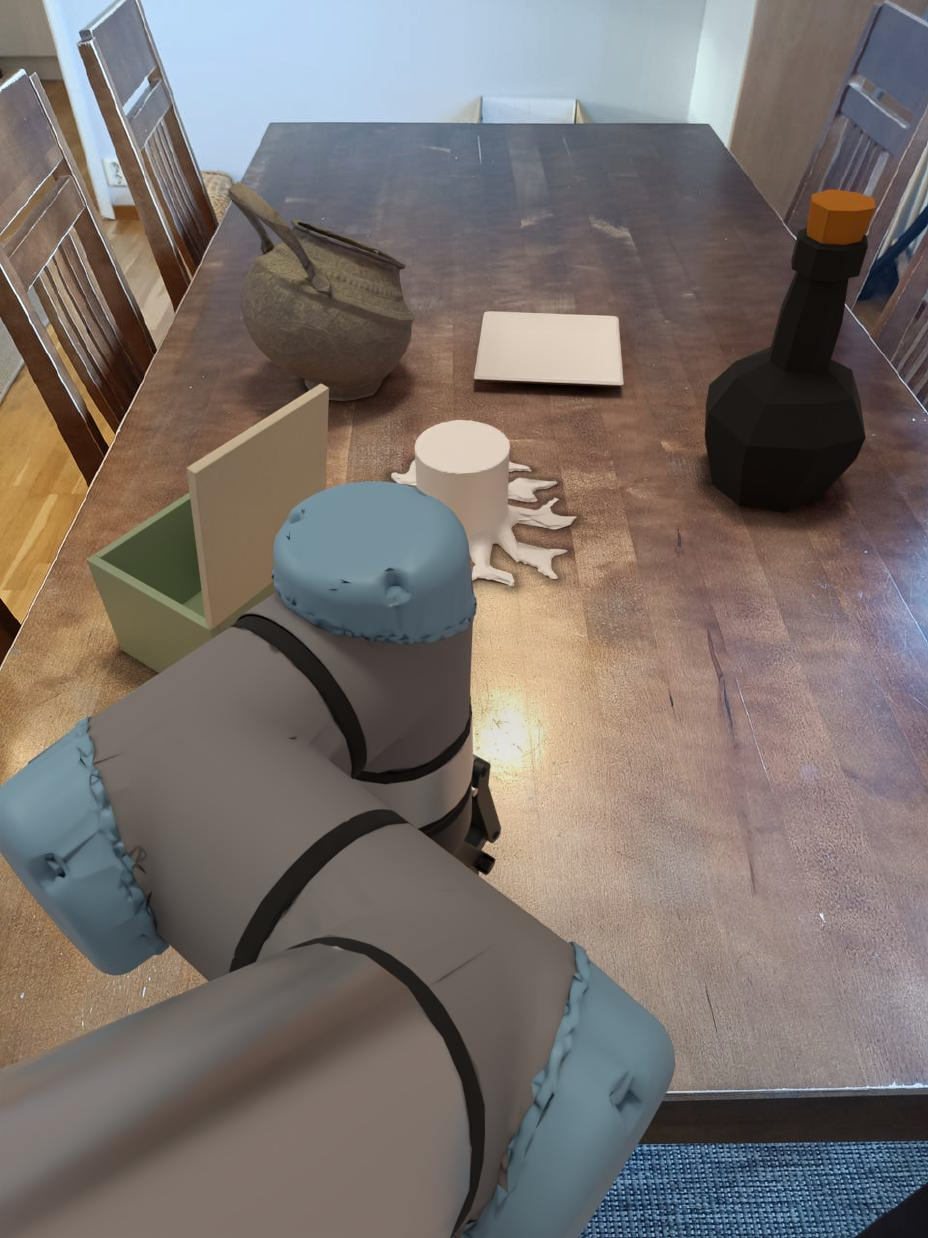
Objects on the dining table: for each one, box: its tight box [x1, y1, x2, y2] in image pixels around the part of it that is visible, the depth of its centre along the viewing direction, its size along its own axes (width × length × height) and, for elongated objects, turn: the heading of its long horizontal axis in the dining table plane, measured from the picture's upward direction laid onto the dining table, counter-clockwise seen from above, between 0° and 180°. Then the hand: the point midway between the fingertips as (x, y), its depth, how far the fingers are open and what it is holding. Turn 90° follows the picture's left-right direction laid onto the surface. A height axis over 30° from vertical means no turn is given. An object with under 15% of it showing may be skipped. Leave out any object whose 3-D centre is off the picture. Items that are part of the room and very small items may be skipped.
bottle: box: [704, 188, 876, 513], centre depth 89 cm, size 16×16×30 cm
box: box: [86, 491, 276, 674], centre depth 78 cm, size 15×13×11 cm
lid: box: [186, 384, 330, 628], centre depth 65 cm, size 15×13×1 cm
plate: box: [473, 310, 625, 388], centre depth 119 cm, size 19×19×2 cm
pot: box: [227, 180, 416, 402], centre depth 106 cm, size 21×21×25 cm
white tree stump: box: [390, 419, 578, 588], centre depth 92 cm, size 23×25×9 cm
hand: (414, 974), depth 59 cm, fingers open, 9 cm apart
